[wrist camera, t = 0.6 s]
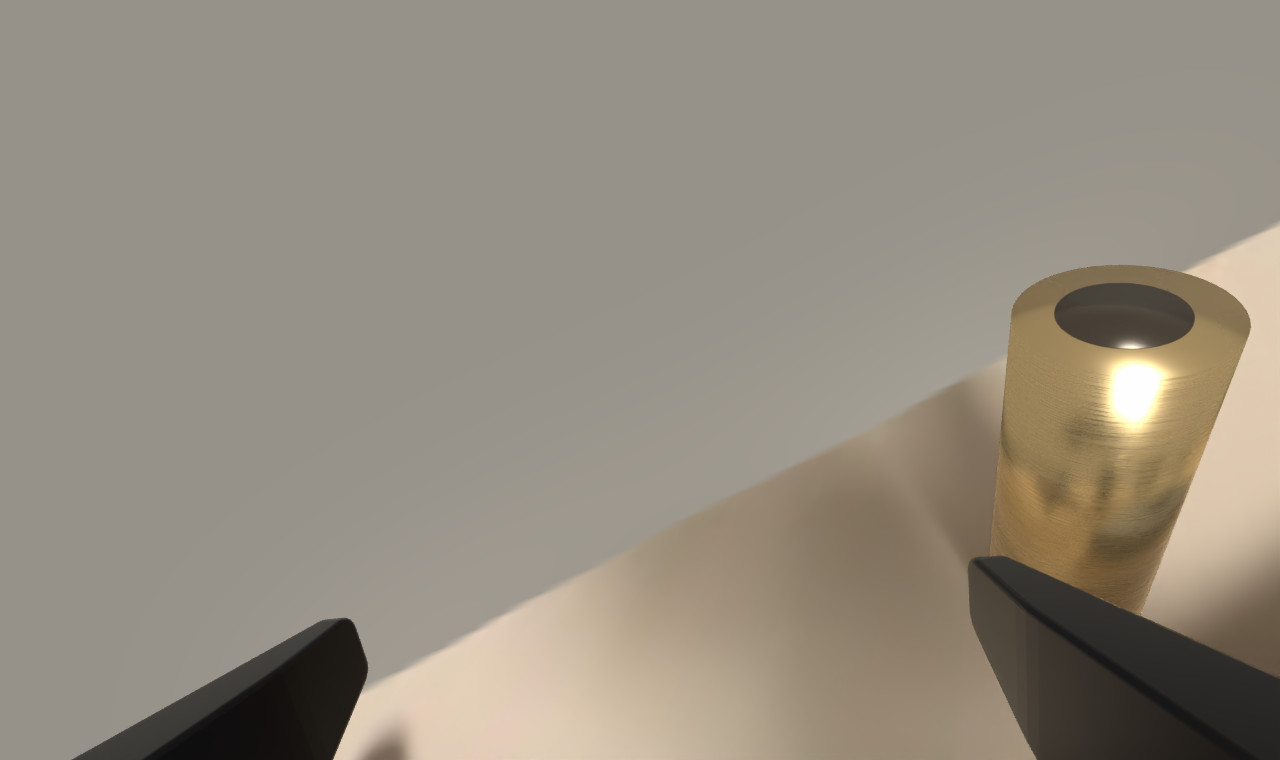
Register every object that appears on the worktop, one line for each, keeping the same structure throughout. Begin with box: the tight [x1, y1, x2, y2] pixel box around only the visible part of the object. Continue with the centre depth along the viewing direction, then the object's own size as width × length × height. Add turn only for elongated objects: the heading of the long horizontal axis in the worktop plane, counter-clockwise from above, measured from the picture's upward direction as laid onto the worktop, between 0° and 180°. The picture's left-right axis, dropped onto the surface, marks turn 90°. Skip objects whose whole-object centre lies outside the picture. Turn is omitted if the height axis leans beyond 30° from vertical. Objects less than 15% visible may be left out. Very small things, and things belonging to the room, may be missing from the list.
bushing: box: [989, 265, 1251, 616], centre depth 18 cm, size 4×4×13 cm
